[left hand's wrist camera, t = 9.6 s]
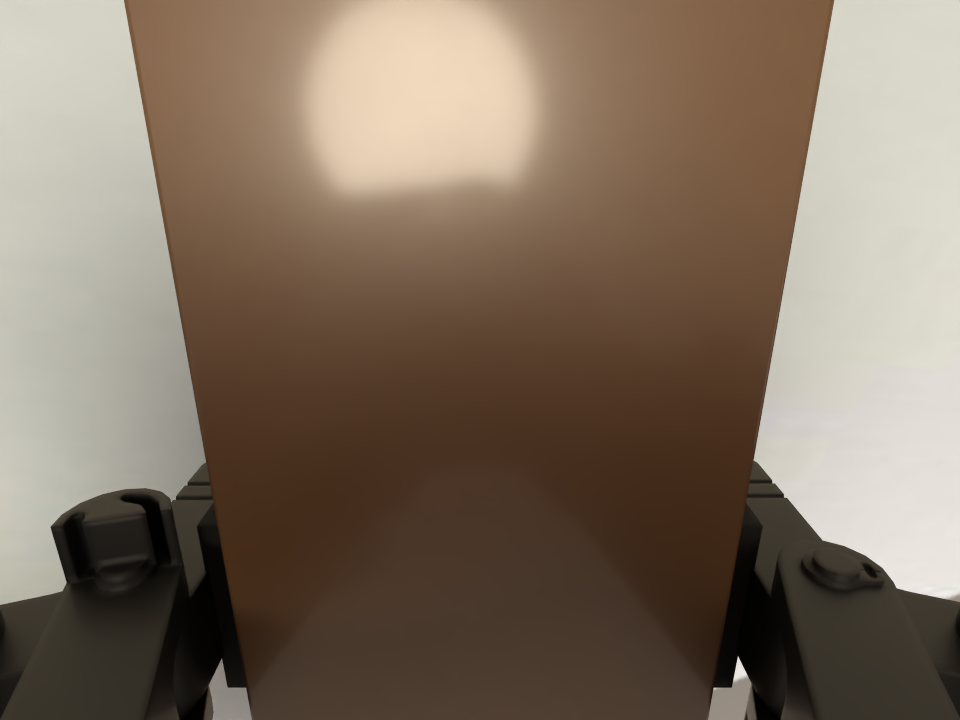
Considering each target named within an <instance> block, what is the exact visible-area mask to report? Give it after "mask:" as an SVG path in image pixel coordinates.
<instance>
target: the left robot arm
mask: <svg viewBox="0 0 960 720" xmlns="http://www.w3.org/2000/svg"><path fill="white" fill-rule="evenodd" d="M51 530H52V534H53V537H54V540H55V544H56V547H57V551H58V554H59V557H60V561H61V564H62V568H63V571H64V574H65V578H66V581H67V584H66V586H65V588H64V590H63V591H62V592H58V593H55V594H51V595H46V596H41V597H37V598H32V599H27V600H22V601H17V602H13V603H8V604H3V605H0V720H212V718H213V705H212V698H211V693H210V688H209V683H210V681H211V679H212V677H213V675H214V673H215V671H216V669H217V667H218V665H219V663H220V661H221V659H222V660H223V666H224V671H225V676H226V681H227V686H228V687H246V683H245V677H244V672H243V666H242V660H241V655H240V649H239V643H238V638H237V632H236V627H235V621H234V615H233V610H232V604H231V598H230V593H229V587H228V582H227V576H226V570H225V565H224V559H223V553H222V548H221V542H220V537H219V531H218V525H217V520H216V514H215V508H214V503H213V497H212V492H211V486H210V480H209V475H208V469H207V464H206V463H205V464H203V465H202V466H201V467H200V468H199V469H198V471H197V472H196V473H195V474H194V475H193V477H192V478H191V479H190V480H189V482H188V486H184V488H183V489H182V490H181V491H180V492H179V494H178V495H177V496H176V500H173V501H172V502H171V500H170V498H169V497H167V496H166V495H165V494H164V493H162V492H161V491H156V490H151V489H146V488H144V489H125V490H120V491H116V492H111V493H107V494H102V495H100V496H97V497H95V498H92V499H90V500H87V501H85V502H82V503H80V504H78V505H77V506H75V507H73V508H72V509H70V510H69V511H67V512H65V513H64V514H62V515H61V516H60V517H59V518H58V520H57V521H56V522H55V523H54V524H53V525H52V526H51ZM738 657H739V659H740V661H741V663H742V665H743V667H744V669H745V671H746V673H747V675H748V677H749V679H750V681H751V688H750V693H749V698H748V703H747V708H746V712H745V717H744V720H960V602H956V601H951V600H946V599H942V598H937V597H932V596H927V595H922V594H918V593H913V592H908V591H904V590H901V589H897V588H896V586H895V584H894V582H893V581H892V580H891V578H890V577H889V576H888V575H887V573H886V572H885V571H884V570H883V568H882V567H880V566H879V565H877V564H876V563H875V562H873V561H872V560H870V559H869V558H868V557H866V556H865V555H863V554H860V553H858V552H856V551H854V550H852V549H849V548H847V547H845V546H842V545H838V544H834V543H830V542H826V541H822V539H821V538H820V537H819V536H818V535H817V533H816V532H815V531H814V530H813V529H812V527H811V526H810V525H809V524H808V523H807V521H806V520H805V519H804V518H803V517H802V515H801V514H800V513H799V512H798V511H797V509H796V508H795V507H794V506H793V505H792V503H791V502H790V501H789V500H788V499H787V498H784V494H783V493H782V492H781V490H780V489H779V488H778V487H777V486H776V484H772V480H771V478H770V477H769V476H768V475H767V474H766V472H765V471H764V470H763V469H762V468H761V466H760V465H759V464H758V463H757V462H755V461H753V465H752V471H751V477H750V482H749V488H748V494H747V500H746V505H745V511H744V517H743V522H742V528H741V534H740V539H739V545H738V551H737V557H736V562H735V568H734V574H733V579H732V585H731V591H730V596H729V602H728V608H727V613H726V619H725V625H724V631H723V636H722V642H721V648H720V653H719V659H718V665H717V670H716V676H715V682H714V688H731V687H732V684H733V678H734V673H735V668H736V663H737V658H738Z"/></svg>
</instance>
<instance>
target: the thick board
mask: <svg viewBox="0 0 960 720" xmlns="http://www.w3.org/2000/svg"><path fill="white" fill-rule="evenodd" d="M124 3H125V8H126V14H127V19H128V25H129V31H130V36H131V42H132V47H133V53H134V59H135V64H136V70H137V76H138V81H139V87H140V92H141V98H142V104H143V109H144V115H145V121H146V126H147V132H148V137H149V143H150V149H151V154H152V160H153V166H154V171H155V177H156V182H157V188H158V194H159V199H160V205H161V211H162V216H163V222H164V227H165V233H166V239H167V244H168V250H169V255H170V261H171V267H172V272H173V278H174V284H175V289H176V295H177V300H178V306H179V312H180V317H181V323H182V329H183V334H184V340H185V345H186V351H187V357H188V362H189V368H190V374H191V379H192V385H193V390H194V396H195V402H196V407H197V413H198V419H199V424H200V430H201V435H202V441H203V447H204V452H205V458H206V464H207V469H208V475H209V480H210V486H211V492H212V497H213V503H214V508H215V514H216V520H217V525H218V531H219V537H220V542H221V548H222V553H223V559H224V565H225V570H226V576H227V582H228V587H229V593H230V598H231V604H232V610H233V615H234V621H235V627H236V632H237V638H238V643H239V649H240V655H241V660H242V666H243V672H244V677H245V683H246V688H247V694H248V700H249V705H250V711H251V716H252V720H708V716H709V710H710V705H711V699H712V693H713V688H714V682H715V676H716V670H717V665H718V659H719V653H720V648H721V642H722V636H723V631H724V625H725V619H726V613H727V608H728V602H729V596H730V591H731V585H732V579H733V574H734V568H735V562H736V557H737V551H738V545H739V539H740V534H741V528H742V522H743V517H744V511H745V505H746V500H747V494H748V488H749V482H750V477H751V471H752V465H753V460H754V454H755V448H756V443H757V437H758V431H759V426H760V420H761V414H762V408H763V403H764V397H765V391H766V386H767V380H768V374H769V369H770V363H771V357H772V351H773V346H774V340H775V334H776V329H777V323H778V317H779V312H780V306H781V300H782V295H783V289H784V283H785V277H786V272H787V266H788V260H789V255H790V249H791V243H792V238H793V232H794V226H795V220H796V215H797V209H798V203H799V198H800V192H801V186H802V181H803V175H804V169H805V164H806V158H807V152H808V146H809V141H810V135H811V129H812V124H813V118H814V112H815V107H816V101H817V95H818V89H819V84H820V78H821V72H822V67H823V61H824V55H825V50H826V44H827V38H828V33H829V27H830V21H831V15H832V10H833V4H834V0H124Z"/></svg>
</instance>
